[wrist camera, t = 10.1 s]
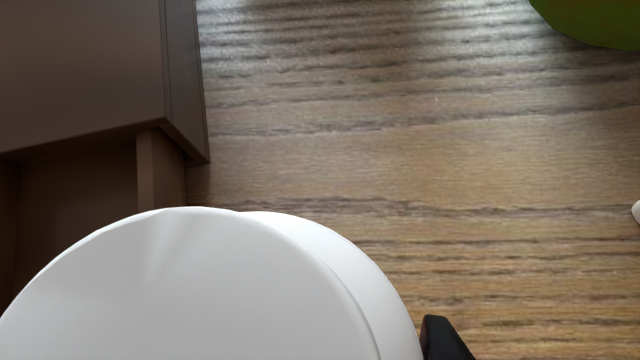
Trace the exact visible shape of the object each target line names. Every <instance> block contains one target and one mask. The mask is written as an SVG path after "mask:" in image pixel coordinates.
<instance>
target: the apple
mask: <svg viewBox="0 0 640 360" xmlns="http://www.w3.org/2000/svg"><path fill="white" fill-rule="evenodd" d="M529 2H530V4H531V5H532V7H533V8H534V9H535V10H536V11H537V12H538V13H539V14H540V15H541V16H542V17H543V18H544V19H545V20H546V21H547V23H548V24H549V25H550V26H551V27H552V28H553V29H554V30H556V31H558V32H561V33H563V34H566V35H568V36H570V37H573V38H575V39H578V40H580V41H582V42H585V43H587V44H590V45H594V46H601V47H608V48H614V49H621V50H628V51H635V50H640V0H529Z"/></svg>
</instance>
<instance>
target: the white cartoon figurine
mask: <svg viewBox="0 0 640 360" xmlns="http://www.w3.org/2000/svg"><path fill="white" fill-rule="evenodd" d="M632 214H633V216H634V218H635V219H636V221H637V222H638V223H639V224H640V200H639V201H638V202H636V203H635V204H634V205H633V207H632Z"/></svg>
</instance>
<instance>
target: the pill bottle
mask: <svg viewBox="0 0 640 360" xmlns="http://www.w3.org/2000/svg"><path fill="white" fill-rule="evenodd" d="M0 360H424V359H423V355H422V350H421V346H420V343H419V339H418V336H417V333H416V330H415V327H414V325H413V322H412V320H411V318H410V316H409V314H408V311H407V309H406V307H405V305H404V303H403V302H402V300H401V298H400V296H399V295H398V293H397V291H396V290H395V288H394V287H393V285H392V284H391V283H390V281H389V280H388V279H387V277H386V276H385V275H384V273H383V272H382V271H381V270H380V268H379V267H378V266H377V265H376V264H375V263H374V262H373V261H372V260H371V259H370V258H369V257H368V256H367V255H366V254H365V253H364V252H362V251H361V250H360V249H359V248H358V247H356V246H355V245H354V244H353V243H351V242H350V241H349V240H347V239H346V238H344V237H342V236H341V235H339V234H338V233H336V232H334V231H333V230H331V229H329V228H327V227H324V226H322V225H320V224H318V223H315V222H312V221H309V220H306V219H303V218H300V217H297V216H293V215H288V214H283V213H276V212H261V211H256V212H235V211H231V210H226V209H218V208H210V207H202V206H191V207H174V208H165V209H159V210H153V211H148V212H144V213H140V214H137V215H133V216H131V217H128V218H125V219H122V220H120V221H117V222H115V223H113V224H110V225H108V226H106V227H103V228H101V229H99V230H97V231H95V232H93V233H92V234H90V235H88V236H87V237H85V238H83V239H82V240H80V241H78V242H77V243H75V244H74V245H73V246H71V247H70V248H68V249H67V250H65V251H64V252H63V253H61V254H60V255H59V256H57V257H56V258H55V259H53V260H52V261H51V262H50V263H49V264H48V265H47V266H46V267H44V268H43V269H42V270H41V271H40V272H39V273H38V274H37V275H36V276H35V277H34V278H33V279H32V280H31V281H30V282H29V283H28V284H27V285H26V287H25V288H24V289H23V290H22V291H21V292H20V293H19V294H18V296H17V297H16V298H15V299H14V301H13V302H12V303H11V304H10V306H9V307H8V308H7V309H6V311H5V312H4V314H3V315H2V316H1V318H0Z"/></svg>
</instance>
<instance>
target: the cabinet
mask: <svg viewBox="0 0 640 360" xmlns="http://www.w3.org/2000/svg"><path fill="white" fill-rule="evenodd" d="M156 126H159V127H160V128H161V129H162V130H163V131H164V132H165V133H166V134H167V135H168V136H169V137H171V138H172V139H173V140H174V141H175V142H176V143H177V144H178V145H179V146H180V147H181V148H182V152H183V166H184V168H189V167H193V166H198V165H203V164H208V163H210V154H209V144H208V133H207V122H206V111H205V101H204V90H203V79H202V69H201V58H200V47H199V37H198V26H197V15H196V4H195V0H0V160H2V159H7V158H12V157H16V156H21V155H26V154H30V153H35V152H40V151H44V150H49V149H54V148H58V147H63V146H68V145H72V144H77V143H82V142H86V141H91V140H96V139H100V138H105V137H110V136H114V135H119V134H124V133H128V132H133V131H138V130H142V129H147V128H152V127H156Z"/></svg>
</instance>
